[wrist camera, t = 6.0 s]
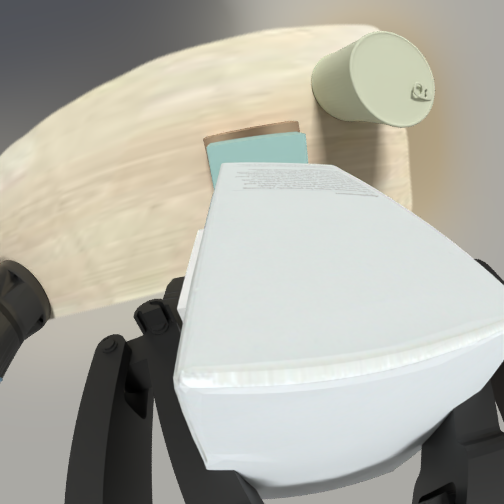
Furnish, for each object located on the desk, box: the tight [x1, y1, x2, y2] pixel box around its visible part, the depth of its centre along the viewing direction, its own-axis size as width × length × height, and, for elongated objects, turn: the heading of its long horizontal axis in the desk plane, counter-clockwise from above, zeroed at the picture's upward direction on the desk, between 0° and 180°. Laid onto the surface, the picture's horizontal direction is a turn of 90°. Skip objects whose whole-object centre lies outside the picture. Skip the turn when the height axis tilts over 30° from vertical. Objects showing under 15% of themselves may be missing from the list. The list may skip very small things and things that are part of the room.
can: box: [312, 31, 435, 128], centre depth 22 cm, size 9×9×12 cm
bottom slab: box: [203, 121, 300, 166], centre depth 30 cm, size 10×10×4 cm
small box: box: [173, 162, 504, 499], centre depth 10 cm, size 8×6×13 cm
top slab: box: [206, 132, 308, 189], centre depth 27 cm, size 9×9×4 cm
